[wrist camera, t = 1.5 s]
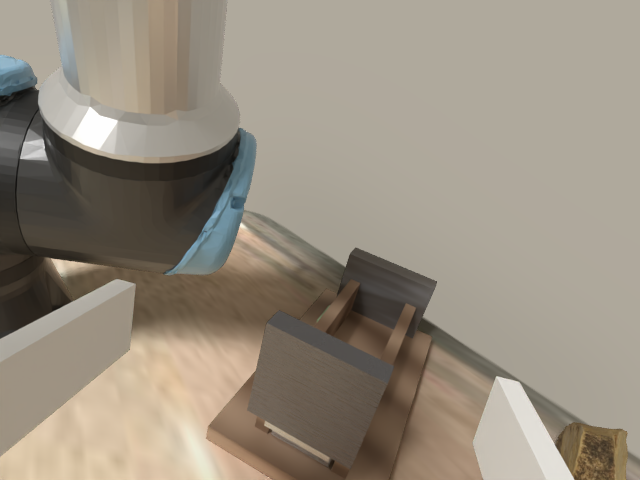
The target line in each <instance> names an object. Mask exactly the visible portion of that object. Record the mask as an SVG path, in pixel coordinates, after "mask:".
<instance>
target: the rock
mask: <svg viewBox="0 0 640 480" xmlns="http://www.w3.org/2000/svg"><path fill="white" fill-rule="evenodd" d="M626 437H627V431H624V430H623V429H607V428H601V427H593V426H589V425H585V424H581V423H575V422H573V423H571V424H569V426H566V427H565V429H564V431H562V433H561V434H560V435H559V436H558V438H559V440H557V442H556V448H557V450H558V451H559V453H560V455H561V457H562V458H563V460H564V462H565V464H566V466H567V467H568V469H569V471H570V473H571V474H572V476H573V478H574V480H626V463H627V457H628V452H627V444H626Z"/></svg>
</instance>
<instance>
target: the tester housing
mask: <svg viewBox="0 0 640 480" xmlns="http://www.w3.org/2000/svg"><path fill="white" fill-rule="evenodd" d="M436 283H437V281H434V280H432V279H430V278H427V277H425V276H423V275H420V274H418V273H415V272H413V271H411V270H408V269H406V268H403V267H401V266H399V265H396V264H394V263H391V262H389V261H387V260H384V259H382V258H380V257H377V256H375V255H372V254H370V253H368V252H365V251H363V250H360V249H358V248H355V249H354V250H353V251H352V252H351V253H350V255H349V259H348V262H347V265H346V268H345V271H344V275H343V278H342V281H341V284H340V287H339V291H338V294H337V293H335V292H333V291H331V290H329V289H325V291H324V292H323V293H322V294H321V295H320V296H319V298H318V299H317V300H316V301H315V302H314V303H313V305H312V306H311V307H310V308H309V309H308V310H307V312H306V313H305V314H304V315H303V316H302V317H301V319H300V321H302V322H304V323H306V324H308V325H310V326H313V327H315V328H317V329H319V330H321V331H323V332H325V333H327V334H329V335H331V336H333V337H335V338H337V339H339V340H341V341H343V342H345V343H347V344H350V345H352V346H354V347H356V348H358V349H360V350H362V351H364V352H366V353H368V354H370V355H372V356H374V357H376V358H378V359H380V360H382V361H384V362H386V363H389V364H391V365H393V366H395V367H394V369H393V372H392V374H391V377H390V379H389V382H388V384H387V386H386V389H385V391H384V393H383V396H382V398H381V400H380V402H379V405H378V407H377V409H376V412H375V414H374V416H373V419H372V421H371V423H370V425H369V428H368V430H367V432H366V435H365V437H364V439H363V442H362V444H361V446H360V448H359V451H358V453H357V455H356V458H355V460H354V462H353V465H352V467H351V469H349V468H347V467H345V466H343V465H342V464H340V463H338V462H336V461H335V460H333V459H332V460H331V462H330V464H329V466H328V467H327V466H325V465H323V464H322V463H320V462H318V461H317V460H315V459H313V458H311V457H310V456H308V455H306V454H304V453H303V452H301V451H299V450H298V449H296V448H294V447H292V446H291V445H289V444H287V443H286V442H284V441H282V440H280V439H279V438H277V437H275V436H273V435H272V434H271V433H272V430H271V429H269V428H268V427H266V426H264V424H265V420H263V419H261V418H260V417H258V416H256V415H254V414H253V413H251V412H249V411H247V408H248V404H249V399H250V395H251V390H252V386H253V381H254V377H255V373H256V371H255V372H254V373H253V375H252V376H251V377H250V378H249V379H248V380H247V382H246V383H245V384H244V385H243V386H242V387H241V389H240V390H239V391H238V392H237V393H236V394H235V396H234V397H233V398H232V399H231V400H230V401H229V403H228V404H227V405H226V406H225V407H224V408H223V410H222V411H221V412H220V413H219V414H218V415H217V417H216V418H215V419H214V420H213V421H212V422H211V424H210V425H209V426H208V431H207V437H206V439H208V440H209V441H211V442H213V443H214V444H216V445H217V446H219V447H221V448H222V449H224V450H226V451H227V452H229V453H231V454H232V455H234V456H235V457H237V458H239V459H240V460H242V461H244V462H245V463H247V464H248V465H250V466H252V467H253V468H255V469H257V470H258V471H260V472H262V473H263V474H265V475H266V476H268V477H270V478H271V479H273V480H389V478H390V475H391V472H392V468H393V465H394V462H395V458H396V455H397V452H398V448H399V445H400V442H401V438H402V435H403V432H404V429H405V425H406V422H407V419H408V415H409V412H410V409H411V405H412V402H413V399H414V395H415V392H416V389H417V386H418V382H419V379H420V376H421V372H422V369H423V366H424V362H425V359H426V356H427V352H428V349H429V346H430V343H431V339H432V336H430V335H427V334H425V333H423V332H421V331H419V330H417V328H418V326H419V323H420V321H421V319H422V317H423V314H424V312H425V310H426V307H427V305H428V303H429V301H430V298H431V296H432V294H433V291H434V289H435V287H436Z"/></svg>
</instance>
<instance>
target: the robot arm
mask: <svg viewBox="0 0 640 480" xmlns="http://www.w3.org/2000/svg"><path fill="white" fill-rule="evenodd" d="M50 2H51V8H52V13H53V19H54V24H55V29H56V35H57V40H58V46H59V51H60V57H61V62H62V66H61V67H60V68H58V69H57V70H56V71H55V72H54V73H52V74H51V75H50V76H49V77H48V78H47V79H46V80H45V81H44V83H43V84H42V86H41V87H40V90H37V89H36V88H35V85H36V84H37V77H36V76H35V75H34V73H33V70H32V68H31V66H30V65H29V64H27V63H26V62H25V61H23V60H16V59H15V58H12V57H9V56H5V55H0V456H2V455H3V454H4V453H5V452H6V451H8V450H9V449H10V448H11V447H12V446H14V445H15V444H16V443H17V442H18V441H20V440H21V439H22V438H23V437H25V436H26V435H27V434H28V433H29V432H31V431H32V430H33V429H34V428H35V427H37V426H38V425H39V424H40V423H42V422H43V421H44V420H45V419H46V418H48V417H49V416H50V415H51V414H52V413H54V412H55V411H56V410H57V409H58V408H60V407H61V406H62V405H63V404H65V403H66V402H67V401H68V400H69V399H71V398H72V397H73V396H74V395H75V394H77V393H78V392H79V391H80V390H81V389H83V388H84V387H85V386H86V385H88V384H89V383H90V382H91V381H92V380H94V379H95V378H96V377H97V376H98V375H100V374H101V373H102V372H103V371H105V370H106V369H107V368H108V367H109V366H111V365H112V364H113V363H114V362H115V361H117V360H118V359H119V358H120V357H121V356H123V355H124V354H125V353H126V352H128V351H129V350H130V342H131V331H132V321H133V310H134V299H135V288H136V284H135V283H131V282H127V281H124V280H120V279H115V280H113V281H111V282H109V283H107V284H106V285H104V286H102V287H100V288H98V289H96V290H94V291H92V292H90V293H88V294H86V295H84V296H82V297H80V298H79V299H77V300H75V301H73V299H72V297H71V295H70V293H69V291H68V289H67V287H66V285H65V284H64V282H63V280H62V278H61V276H60V275H59V273H58V271H57V269H56V267H55V266H54V264H53V262H52V260H51V258H53V259H61V260H68V261H75V262H83V263H90V264H97V265H104V266H112V267H119V268H126V269H134V270H141V271H148V272H156V273H162V274H164V275H174V274H176V273H177V274H192V275H209V274H212V273H214V272H216V271H217V270H219V269H220V268H221V267H222V266H223V265H224V263H225V262H226V260H227V258H228V256H229V254H230V252H231V250H232V247H233V244H234V242H235V239H236V236H237V233H238V230H239V226H240V223H241V219H242V216H243V211H244V203H245V202H246V198H247V194H248V191H249V189H250V185H251V180H252V175H253V170H254V165H255V158H256V139H255V137H254V136H253V135H252V134H251V133H248V132H246V131H245V130H243V129H242V128H239V123H240V113H239V109H238V105H237V103H236V101H235V100H234V98H233V96H232V95H231V94H230V93H229V92H228V91H227V90H226V89H225V87H223V85H221V83H220V74H221V64H222V54H223V43H224V31H225V20H226V11H227V0H50ZM473 447H474V450H475V454H476V457H477V460H478V464H479V467H480V470H481V474H482V477H483V480H574V478H573V476H572V474H571V473H570V471H569V469H568V467H567V466H566V464H565V462H564V460H563V458H562V457H561V455H560V453H559V451H558V450H557V448H556V446H555V444H554V443H553V441H552V439H551V437H550V436H549V434H548V432H547V430H546V428H545V427H544V425H543V423H542V421H541V420H540V418H539V416H538V414H537V413H536V411H535V409H534V407H533V405H532V404H531V402H530V400H529V398H528V397H527V395H526V393H525V391H524V390H523V388H522V386H521V384H520V383H519V382H517V381H513V380H509V379H505V378H501V377H498V376H496V378H495V381H494V384H493V387H492V390H491V392H490V395H489V398H488V401H487V404H486V406H485V409H484V412H483V415H482V418H481V420H480V423H479V426H478V429H477V432H476V434H475V437H474V440H473Z"/></svg>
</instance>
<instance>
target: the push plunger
mask: <svg viewBox="0 0 640 480" xmlns="http://www.w3.org/2000/svg"><path fill="white" fill-rule="evenodd" d="M394 367H395V366H393V365H391V364H389V363H386V362H384V361H382V360H380V359H378V358H376V357H374V356H372V355H370V354H368V353H366V352H364V351H362V350H360V349H358V348H356V347H354V346H352V345H350V344H347V343H345V342H343V341H341V340H339V339H337V338H335V337H333V336H331V335H329V334H327V333H325V332H323V331H321V330H319V329H317V328H315V327H313V326H310V325H308V324H306V323H304V322H302V321H300V320H298V319H296V318H294V317H292V316H290V315H288V314H286V313H284V312H282V311H280V310H279V311H278V312H277V313H276V314H275V315H274V316H273V317H272V318H271V319H270V320H269V321H268V322H267V323H266V328H265V332H264V337H263V341H262V346H261V350H260V355H259V359H258V364H257V368H256V373H255V377H254V381H253V386H252V390H251V395H250V399H249V404H248V408H247V411H249V412H251V413H253V414H254V415H256V416H258V417H260V418H261V419H263V420H265V424H264V426H266V427H268V428H269V429H271V430H272V433H271V434H272V435H273V436H275V437H277V438H279V439H280V440H282V441H284V442H286V443H287V444H289V445H291V446H292V447H294V448H296V449H298V450H299V451H301V452H303V453H304V454H306V455H308V456H310V457H311V458H313V459H315V460H317V461H318V462H320V463H322V464H323V465H325V466H327V467H328V466H329V464H330V462H331V460H332V459H333V460H335V461H336V462H338V463H340V464H342V465H343V466H345V467H347V468H349V469H351V467H352V465H353V462H354V460H355V458H356V455H357V453H358V451H359V448H360V446H361V444H362V442H363V439H364V437H365V435H366V432H367V430H368V428H369V425H370V423H371V421H372V419H373V416H374V414H375V412H376V409H377V407H378V405H379V402H380V400H381V398H382V396H383V393H384V391H385V389H386V386H387V384H388V382H389V379H390V377H391V374H392V372H393V369H394Z"/></svg>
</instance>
